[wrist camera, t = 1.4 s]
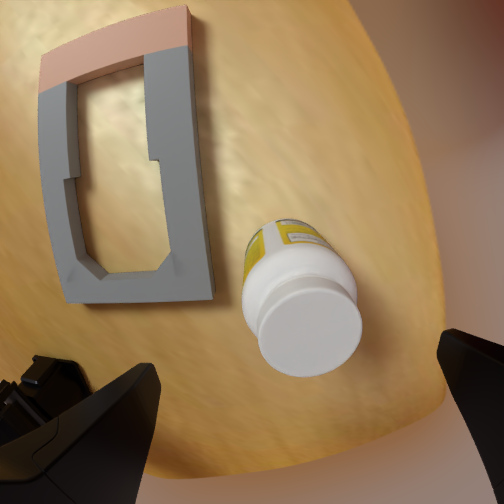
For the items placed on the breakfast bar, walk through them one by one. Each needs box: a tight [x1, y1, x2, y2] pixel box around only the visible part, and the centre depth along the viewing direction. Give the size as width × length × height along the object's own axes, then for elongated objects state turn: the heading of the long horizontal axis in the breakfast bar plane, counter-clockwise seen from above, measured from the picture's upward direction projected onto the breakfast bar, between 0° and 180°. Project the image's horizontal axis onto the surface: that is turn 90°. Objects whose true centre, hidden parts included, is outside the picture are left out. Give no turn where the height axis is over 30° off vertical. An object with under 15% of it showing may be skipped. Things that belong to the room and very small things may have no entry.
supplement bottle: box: [242, 219, 362, 377], centre depth 15 cm, size 5×5×10 cm
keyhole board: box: [38, 5, 216, 303], centre depth 17 cm, size 20×12×2 cm, turn 5°
